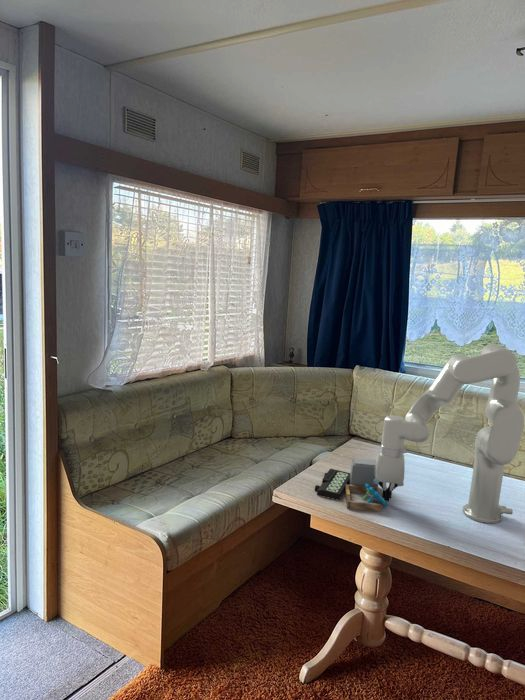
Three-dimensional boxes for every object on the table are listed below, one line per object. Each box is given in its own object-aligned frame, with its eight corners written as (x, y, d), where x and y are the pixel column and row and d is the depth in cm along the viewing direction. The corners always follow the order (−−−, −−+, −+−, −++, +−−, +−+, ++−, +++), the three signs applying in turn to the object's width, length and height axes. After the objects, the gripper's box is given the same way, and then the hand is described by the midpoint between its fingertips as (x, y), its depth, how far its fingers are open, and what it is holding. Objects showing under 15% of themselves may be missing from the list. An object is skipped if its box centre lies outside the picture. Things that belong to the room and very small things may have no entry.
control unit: (375, 485, 199) (378, 459, 197) (377, 493, 192) (380, 466, 190) (349, 482, 200) (351, 456, 198) (350, 490, 193) (352, 463, 191)
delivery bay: (376, 493, 192) (376, 486, 191) (380, 512, 178) (381, 504, 177) (344, 490, 193) (345, 483, 192) (347, 508, 179) (347, 500, 178)
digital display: (328, 466, 207) (352, 472, 204) (327, 474, 208) (351, 480, 204) (312, 486, 188) (339, 493, 184) (312, 494, 188) (338, 501, 185)
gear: (393, 507, 178) (374, 487, 177) (381, 519, 178) (362, 499, 176) (380, 496, 189) (362, 477, 188) (368, 508, 189) (351, 489, 187)
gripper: (411, 449, 184) (405, 497, 187) (369, 445, 185) (364, 493, 189) (415, 456, 177) (409, 506, 180) (371, 452, 178) (366, 502, 181)
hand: (386, 499), depth 184 cm, fingers closed
